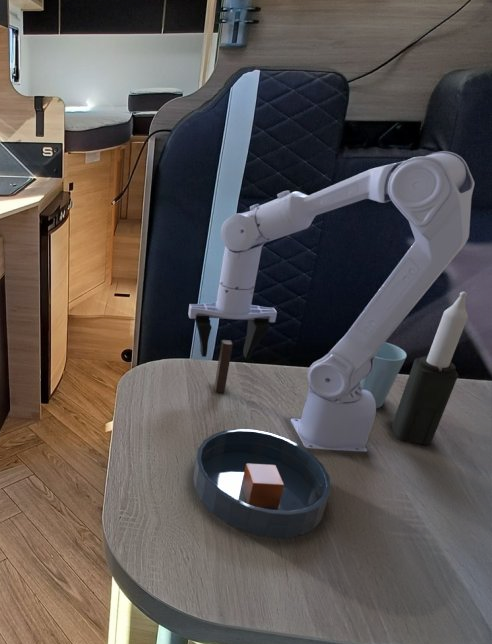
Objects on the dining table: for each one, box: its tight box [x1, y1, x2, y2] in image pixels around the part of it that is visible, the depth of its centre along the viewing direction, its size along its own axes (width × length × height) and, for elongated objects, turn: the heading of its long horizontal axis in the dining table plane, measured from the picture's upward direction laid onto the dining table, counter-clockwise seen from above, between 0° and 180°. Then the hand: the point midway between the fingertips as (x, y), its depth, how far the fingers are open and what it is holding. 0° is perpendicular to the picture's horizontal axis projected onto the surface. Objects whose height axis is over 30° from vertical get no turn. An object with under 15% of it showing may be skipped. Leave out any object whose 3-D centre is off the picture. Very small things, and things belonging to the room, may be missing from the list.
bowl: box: [192, 428, 332, 539], centre depth 71 cm, size 17×17×4 cm
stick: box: [213, 339, 234, 393], centre depth 94 cm, size 2×2×10 cm
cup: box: [360, 341, 408, 409], centre depth 92 cm, size 8×8×10 cm
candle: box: [391, 291, 469, 447], centre depth 79 cm, size 5×5×25 cm
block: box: [241, 463, 284, 508], centre depth 70 cm, size 4×4×4 cm
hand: (224, 355), depth 93 cm, fingers open, 7 cm apart
